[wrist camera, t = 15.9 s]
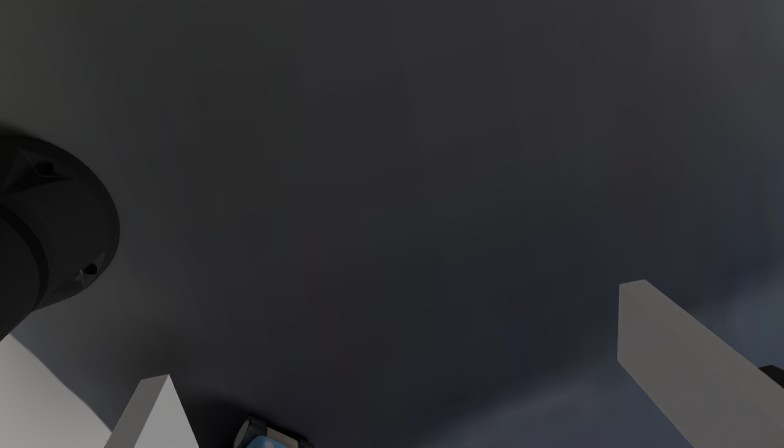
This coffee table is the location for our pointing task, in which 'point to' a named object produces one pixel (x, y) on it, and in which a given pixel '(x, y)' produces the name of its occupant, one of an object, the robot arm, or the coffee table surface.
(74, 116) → the coffee table surface
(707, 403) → the robot arm
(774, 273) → the coffee table surface
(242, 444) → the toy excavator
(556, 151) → the coffee table surface
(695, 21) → the coffee table surface
